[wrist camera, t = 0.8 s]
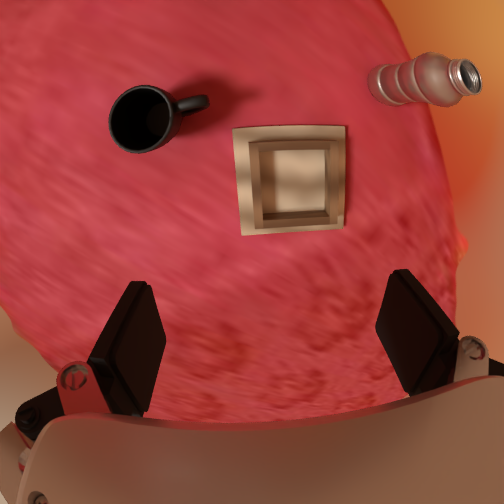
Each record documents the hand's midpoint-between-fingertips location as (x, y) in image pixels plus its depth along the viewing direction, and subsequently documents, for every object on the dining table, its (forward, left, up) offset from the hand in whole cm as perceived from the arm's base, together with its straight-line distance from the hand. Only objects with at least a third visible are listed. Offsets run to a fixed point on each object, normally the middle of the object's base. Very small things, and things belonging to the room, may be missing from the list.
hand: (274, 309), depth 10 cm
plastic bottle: (-13, +21, -32) cm, 40 cm away
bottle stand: (+2, +6, -31) cm, 32 cm away
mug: (-9, -10, -32) cm, 34 cm away
